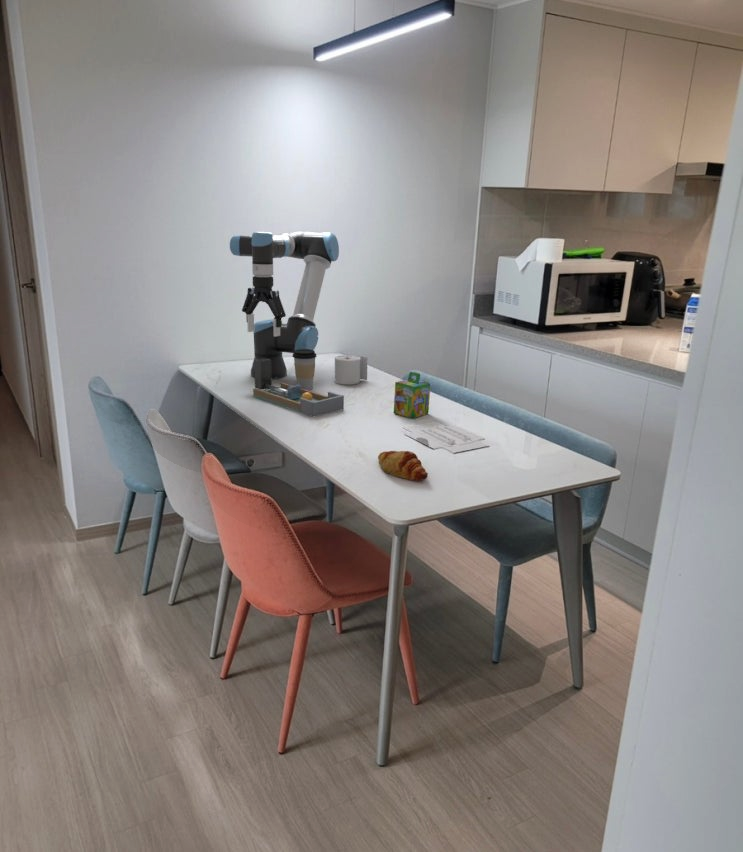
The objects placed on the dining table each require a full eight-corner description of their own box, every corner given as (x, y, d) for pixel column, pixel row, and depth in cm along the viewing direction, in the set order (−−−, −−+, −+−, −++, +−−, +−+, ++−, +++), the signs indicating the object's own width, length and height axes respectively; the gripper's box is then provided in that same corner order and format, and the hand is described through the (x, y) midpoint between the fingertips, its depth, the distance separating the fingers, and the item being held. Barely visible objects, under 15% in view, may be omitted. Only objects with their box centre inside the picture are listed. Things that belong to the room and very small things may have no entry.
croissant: (371, 474, 206) (360, 453, 201) (395, 452, 209) (385, 432, 205) (418, 497, 189) (408, 475, 185) (444, 473, 193) (434, 451, 189)
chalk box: (392, 413, 251) (394, 372, 246) (409, 408, 257) (411, 368, 252) (413, 419, 245) (414, 377, 240) (429, 414, 251) (431, 373, 246)
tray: (443, 422, 244) (444, 412, 243) (497, 449, 222) (498, 438, 221) (393, 431, 234) (394, 421, 233) (445, 461, 212) (446, 449, 210)
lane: (282, 389, 278) (282, 381, 277) (330, 405, 259) (330, 395, 258) (253, 396, 268) (252, 387, 267) (301, 412, 250) (300, 402, 249)
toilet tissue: (329, 381, 293) (329, 357, 290) (351, 376, 300) (351, 353, 297) (346, 386, 285) (346, 361, 282) (368, 381, 293) (368, 357, 290)
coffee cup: (318, 386, 285) (318, 349, 280) (314, 392, 276) (314, 354, 271) (295, 384, 285) (294, 348, 281) (290, 391, 277) (290, 353, 272)
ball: (307, 400, 260) (307, 390, 259) (314, 403, 257) (314, 392, 256) (299, 402, 257) (299, 392, 256) (306, 405, 255) (306, 394, 254)
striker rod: (265, 385, 278) (264, 358, 274) (301, 397, 263) (301, 368, 260) (254, 388, 274) (254, 359, 271) (291, 399, 260) (290, 370, 256)
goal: (329, 404, 260) (329, 391, 258) (343, 409, 255) (343, 395, 253) (300, 412, 250) (299, 398, 248) (314, 416, 245) (313, 402, 243)
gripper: (231, 273, 263) (233, 330, 269) (280, 279, 249) (281, 339, 255) (246, 272, 269) (247, 328, 275) (295, 277, 255) (295, 336, 261)
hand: (263, 333), depth 265 cm, fingers open, 13 cm apart
